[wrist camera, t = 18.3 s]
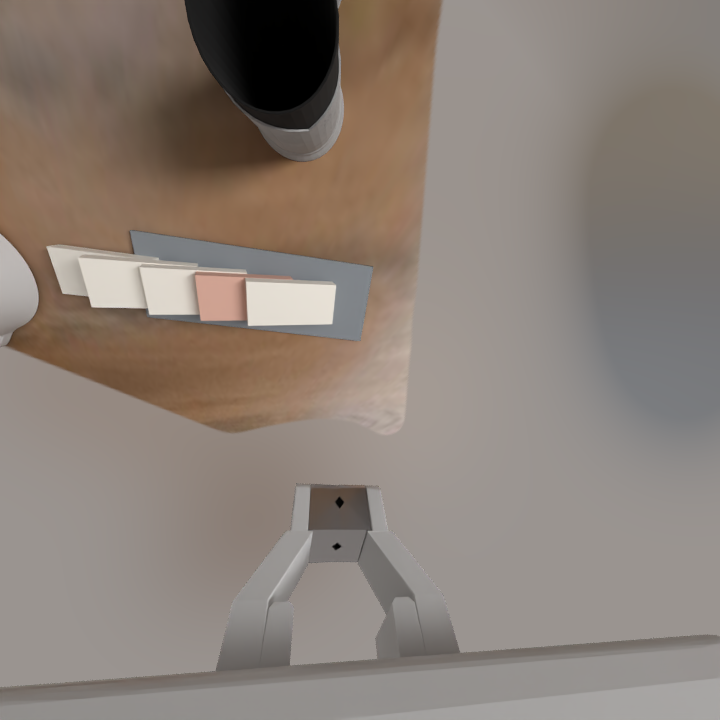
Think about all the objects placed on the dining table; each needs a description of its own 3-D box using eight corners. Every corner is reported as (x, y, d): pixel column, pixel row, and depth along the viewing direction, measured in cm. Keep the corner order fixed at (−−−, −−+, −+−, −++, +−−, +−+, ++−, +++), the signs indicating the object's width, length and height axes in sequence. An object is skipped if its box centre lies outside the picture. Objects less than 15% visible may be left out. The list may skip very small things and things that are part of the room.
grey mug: (234, 116, 27) (142, 37, 14) (315, -67, 22) (286, -445, 9) (312, 181, 30) (295, 165, 17) (398, 32, 25) (465, -149, 12)
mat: (149, 315, 36) (147, 317, 36) (132, 230, 31) (129, 230, 31) (360, 339, 40) (360, 341, 39) (372, 266, 35) (373, 267, 35)
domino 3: (247, 309, 36) (152, 309, 32) (245, 269, 34) (142, 263, 30) (248, 314, 35) (149, 314, 31) (247, 272, 32) (139, 267, 28)
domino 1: (166, 300, 35) (74, 289, 33) (158, 257, 32) (59, 244, 31) (159, 304, 33) (62, 293, 32) (150, 260, 31) (46, 246, 30)
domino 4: (289, 315, 37) (201, 315, 33) (290, 276, 34) (196, 271, 30) (291, 319, 36) (200, 320, 32) (293, 279, 33) (195, 275, 29)
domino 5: (328, 319, 38) (247, 320, 33) (332, 281, 35) (245, 277, 31) (332, 324, 36) (248, 325, 32) (336, 285, 34) (246, 281, 30)
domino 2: (201, 304, 35) (96, 302, 31) (197, 263, 33) (83, 254, 29) (201, 309, 34) (91, 307, 30) (197, 266, 32) (77, 257, 27)
